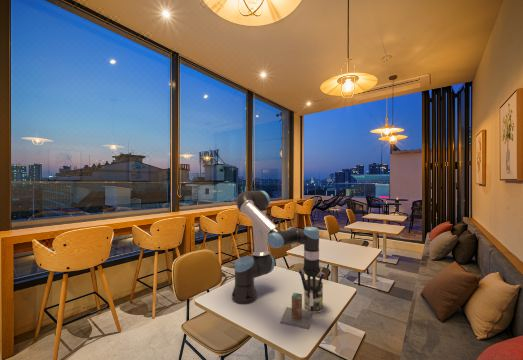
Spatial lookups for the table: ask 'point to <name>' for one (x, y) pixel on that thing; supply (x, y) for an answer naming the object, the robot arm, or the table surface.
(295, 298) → the walnut block
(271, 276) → the table surface
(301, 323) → the slate coaster
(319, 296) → the coffee can
